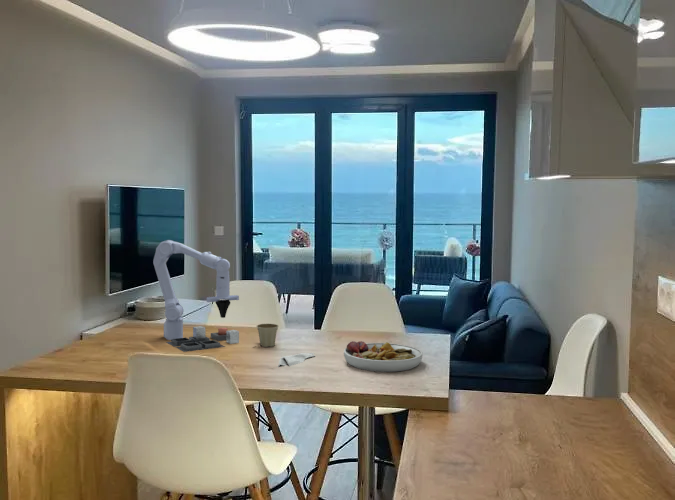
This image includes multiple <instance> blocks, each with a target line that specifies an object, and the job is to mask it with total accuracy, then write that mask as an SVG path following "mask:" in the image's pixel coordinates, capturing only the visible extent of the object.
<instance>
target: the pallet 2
mask: <svg viewBox="0 0 675 500" xmlns="http://www.w3.org/2000/svg"><path fill="white" fill-rule="evenodd" d="M225 347H226V346H225V345H224V344H223V345H222V344H221V342H220V341H217V340H215V339H210V340H209V341H201V342H199V343H197V342H192V343H184V344H181V346H177V347H175V349H178V350H179V351H180V352H183V353H187V352H195V351H204V350H211V349H218V348H225Z"/></svg>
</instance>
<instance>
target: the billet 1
mask: <svg viewBox="0 0 675 500" xmlns="http://www.w3.org/2000/svg"><path fill="white" fill-rule="evenodd" d="M205 336H206V327H205V326H202V325H199V326H192V337H193V338H194V339H204V338H205Z"/></svg>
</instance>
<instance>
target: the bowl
mask: <svg viewBox="0 0 675 500" xmlns="http://www.w3.org/2000/svg"><path fill="white" fill-rule="evenodd" d="M343 357H344V359H345V361H346V362H347V364H349V365H350V366H352V367H354V368H357V369H359V370H363V371H370V372H380V373H393V372H394V373H395V372H403V371H408V370H411V369H414V368H416V367H417V366H418V365H420V364H421V362H422V359H423V351H422V350H421V349H419V348H416V347H413V346H410V345H404V344H399V343H390V342H370V343H369V342H368V343H367V342H364V341H362V340H360V341H354V340H352V341H350V342H348V344H346V347H345V348H344V349H343Z"/></svg>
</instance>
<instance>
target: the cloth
mask: <svg viewBox="0 0 675 500" xmlns="http://www.w3.org/2000/svg"><path fill="white" fill-rule="evenodd" d="M313 357H315V353H314V352H307V353H305V352H301V353H297V354H292V355H285V356H281V357H280V358H279V361H278V366H277V368H279V367H280V366H283V367H285V366H289V367H292V366H295V365H298V364H302V363H304V362H305V359H309V358H313Z"/></svg>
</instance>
